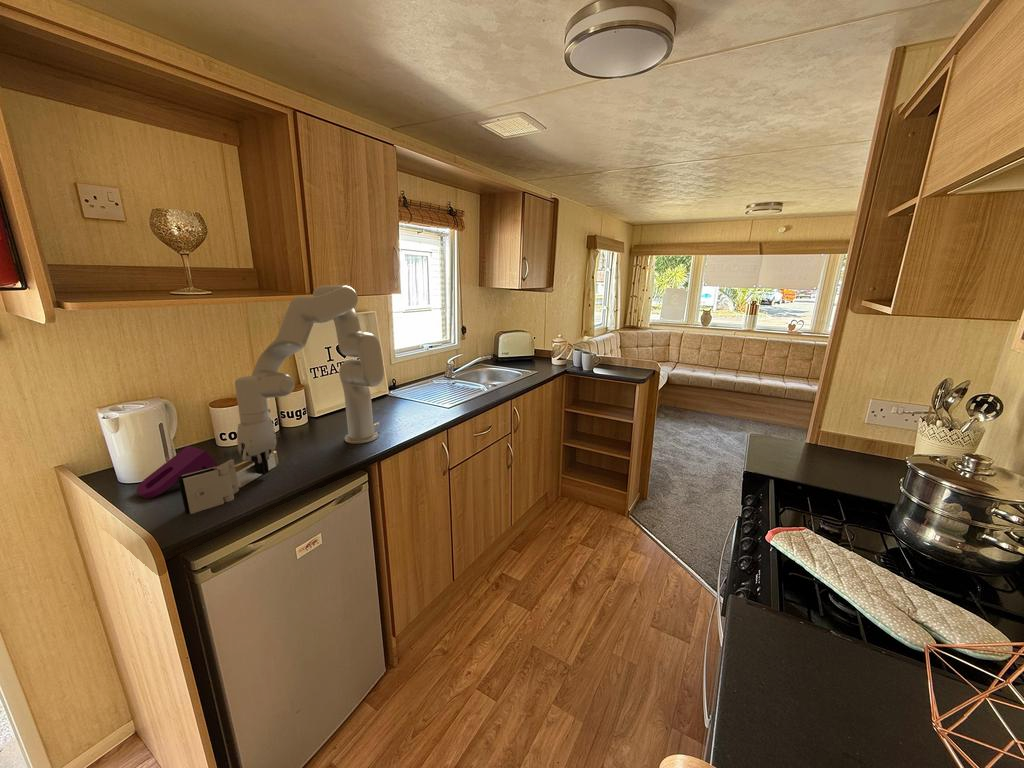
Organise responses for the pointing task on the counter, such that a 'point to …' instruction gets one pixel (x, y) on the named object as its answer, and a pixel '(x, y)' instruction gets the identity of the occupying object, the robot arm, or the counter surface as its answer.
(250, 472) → the open leaf
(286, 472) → the counter surface
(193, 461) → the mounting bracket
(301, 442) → the counter surface
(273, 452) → the fixed leaf
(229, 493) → the hinge
